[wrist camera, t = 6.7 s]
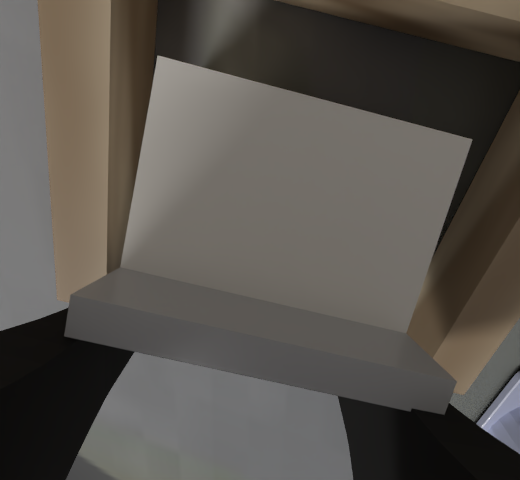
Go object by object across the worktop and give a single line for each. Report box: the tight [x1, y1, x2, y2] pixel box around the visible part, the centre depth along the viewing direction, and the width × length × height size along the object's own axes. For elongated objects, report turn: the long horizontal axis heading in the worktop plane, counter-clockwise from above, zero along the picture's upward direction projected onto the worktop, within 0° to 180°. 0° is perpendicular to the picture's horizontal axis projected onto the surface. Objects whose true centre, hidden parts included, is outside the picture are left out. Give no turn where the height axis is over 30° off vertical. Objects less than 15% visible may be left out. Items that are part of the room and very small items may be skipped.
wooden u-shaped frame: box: [38, 0, 520, 395], centre depth 11 cm, size 17×14×3 cm
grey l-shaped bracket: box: [64, 56, 473, 415], centre depth 9 cm, size 9×7×6 cm
